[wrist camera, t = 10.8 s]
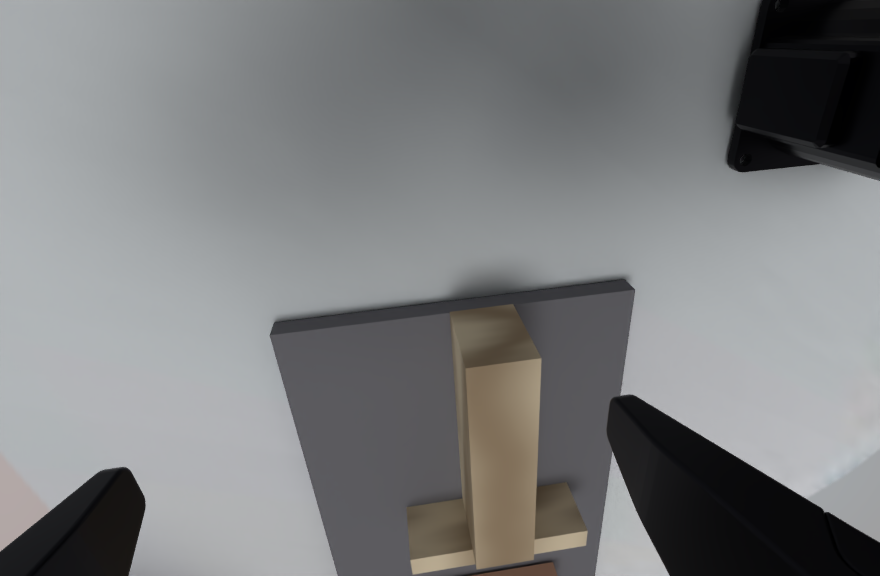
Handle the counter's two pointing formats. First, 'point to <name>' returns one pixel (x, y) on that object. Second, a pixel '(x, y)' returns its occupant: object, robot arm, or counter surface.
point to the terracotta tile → (526, 571)
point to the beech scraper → (495, 457)
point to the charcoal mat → (445, 416)
